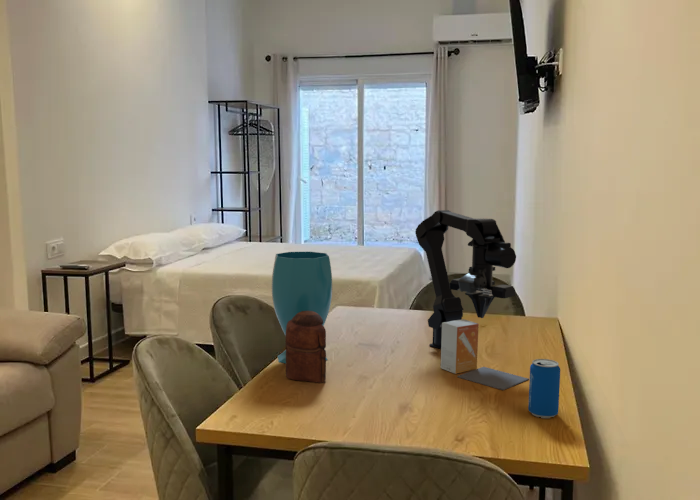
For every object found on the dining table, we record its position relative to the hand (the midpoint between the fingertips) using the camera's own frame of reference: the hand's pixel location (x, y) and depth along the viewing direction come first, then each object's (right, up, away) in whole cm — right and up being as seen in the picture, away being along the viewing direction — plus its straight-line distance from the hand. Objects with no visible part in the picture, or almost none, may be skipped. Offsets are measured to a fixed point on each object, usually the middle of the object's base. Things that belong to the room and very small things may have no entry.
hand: (480, 317), depth 186 cm
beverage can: (+6, -18, -39) cm, 44 cm away
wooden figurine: (-48, -15, -16) cm, 53 cm away
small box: (-7, -14, -7) cm, 17 cm away
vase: (-51, -12, +3) cm, 53 cm away
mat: (0, -15, -15) cm, 21 cm away
